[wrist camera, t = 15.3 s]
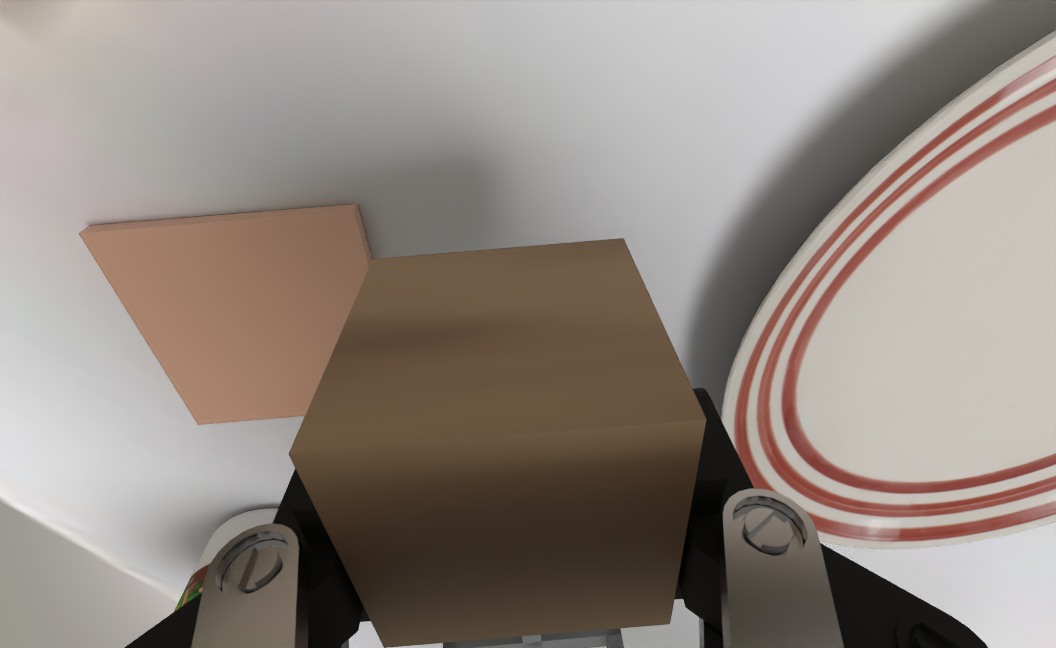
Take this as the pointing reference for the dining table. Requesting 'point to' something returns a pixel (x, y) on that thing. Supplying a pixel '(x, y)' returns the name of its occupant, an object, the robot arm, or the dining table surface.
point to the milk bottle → (219, 541)
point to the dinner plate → (919, 335)
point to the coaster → (239, 301)
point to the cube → (505, 445)
